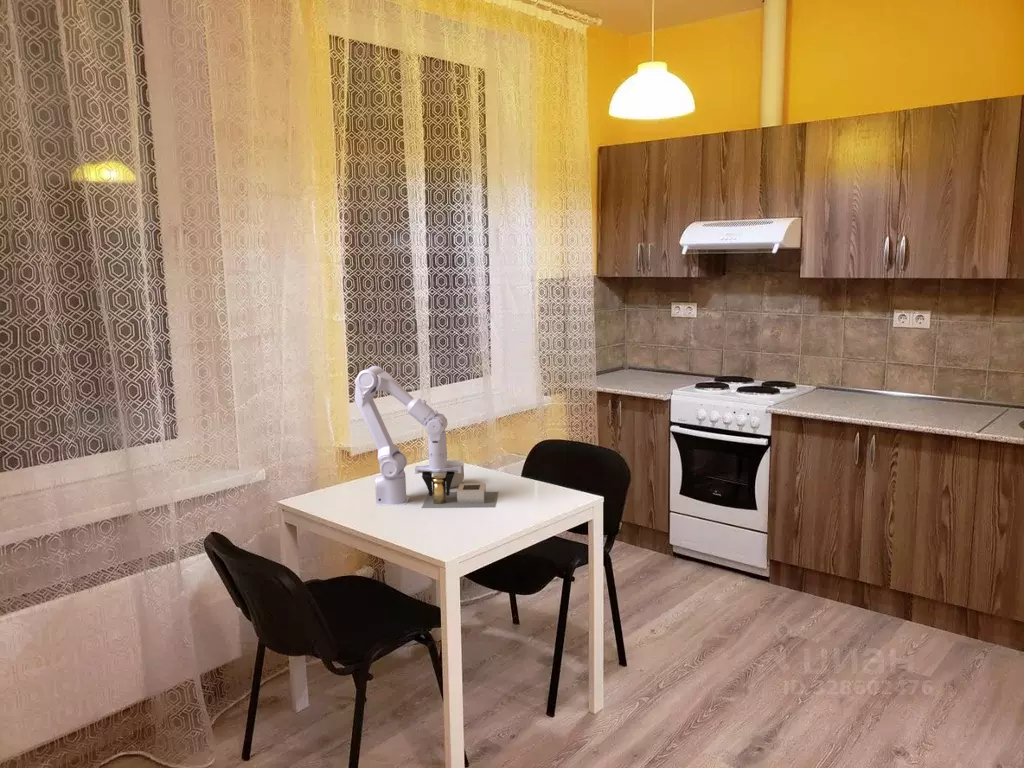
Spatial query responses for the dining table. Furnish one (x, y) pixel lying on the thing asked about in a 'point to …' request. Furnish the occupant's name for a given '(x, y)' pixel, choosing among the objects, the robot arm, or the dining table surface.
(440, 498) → the brass door knob
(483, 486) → the block
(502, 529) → the dining table surface
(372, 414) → the robot arm
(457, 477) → the teacup
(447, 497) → the mat
